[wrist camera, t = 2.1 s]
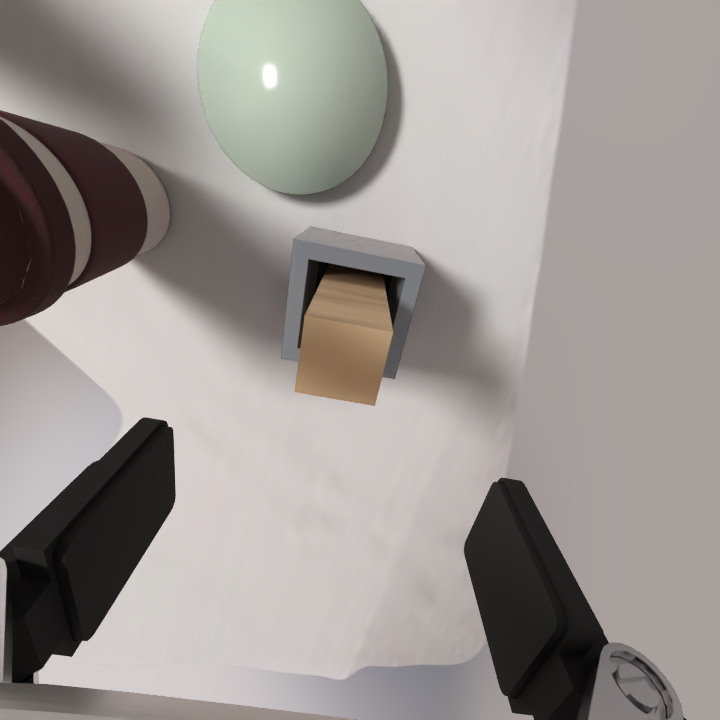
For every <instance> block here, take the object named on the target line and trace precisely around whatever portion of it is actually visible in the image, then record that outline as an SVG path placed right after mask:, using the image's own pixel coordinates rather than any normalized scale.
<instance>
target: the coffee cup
mask: <svg viewBox="0 0 720 720" xmlns="http://www.w3.org/2000/svg"><path fill="white" fill-rule="evenodd" d="M169 222H170V206H169V202H168V198H167V195H166V192H165V189H164V187H163V185H162V183H161V182H160V180H159V179H158V177H157V176H156V174H155V173H154V172H153V171H152V170H151V169H150V167H149V166H148V165H147V164H145V163H144V162H143V161H142V160H141V159H139V158H138V157H136V156H135V155H133V154H132V153H130V152H128V151H126V150H123V149H121V148H118V147H114V146H110V145H107V144H103V143H99V142H97V141H95V140H94V139H91V138H89V137H87V136H85V135H83V134H80V133H77V132H74V131H70V130H67V129H63V128H60V127H56V126H53V125H49V124H46V123H42V122H39V121H35V120H32V119H28V118H25V117H21V116H18V115H15V114H11V113H8V112H4V111H1V110H0V326H3V325H7V324H11V323H14V322H17V321H20V320H22V319H25V318H27V317H30V316H33V315H35V314H37V313H39V312H41V311H44V310H45V309H47V308H48V307H50V306H51V305H52V304H54V303H55V302H56V301H57V300H58V299H59V298H60V297H61V296H62V294H63V293H64V292H66V291H69V290H71V289H73V288H76V287H78V286H80V285H82V284H84V283H86V282H89V281H91V280H93V279H95V278H97V277H99V276H102V275H104V274H106V273H108V272H110V271H112V270H115V269H117V268H119V267H121V266H123V265H125V264H127V263H128V262H129V261H131V260H132V259H133V258H134V257H135V256H137V255H139V254H142V253H144V252H146V251H148V250H151V249H152V248H154V247H155V246H156V245H158V244H159V243H160V241H161V240H162V239H163V238H164V236H165V234H166V232H167V230H168V226H169Z"/></svg>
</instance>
